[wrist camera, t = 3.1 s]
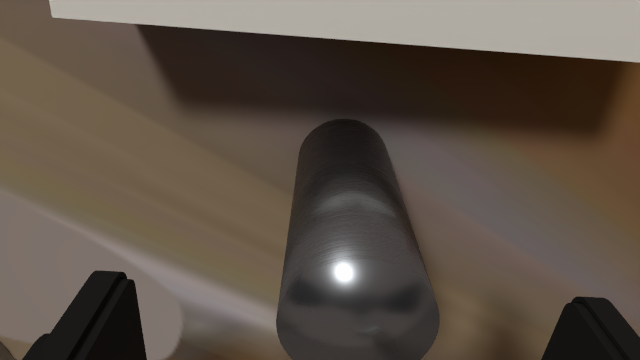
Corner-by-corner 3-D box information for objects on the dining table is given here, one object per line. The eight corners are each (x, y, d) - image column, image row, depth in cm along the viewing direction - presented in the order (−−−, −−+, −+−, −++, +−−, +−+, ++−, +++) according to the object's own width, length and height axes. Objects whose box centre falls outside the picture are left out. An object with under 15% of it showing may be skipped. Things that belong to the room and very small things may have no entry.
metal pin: (393, 122, 19) (454, 265, 10) (381, 203, 21) (423, 386, 12) (300, 115, 19) (278, 253, 10) (296, 198, 21) (274, 377, 12)
